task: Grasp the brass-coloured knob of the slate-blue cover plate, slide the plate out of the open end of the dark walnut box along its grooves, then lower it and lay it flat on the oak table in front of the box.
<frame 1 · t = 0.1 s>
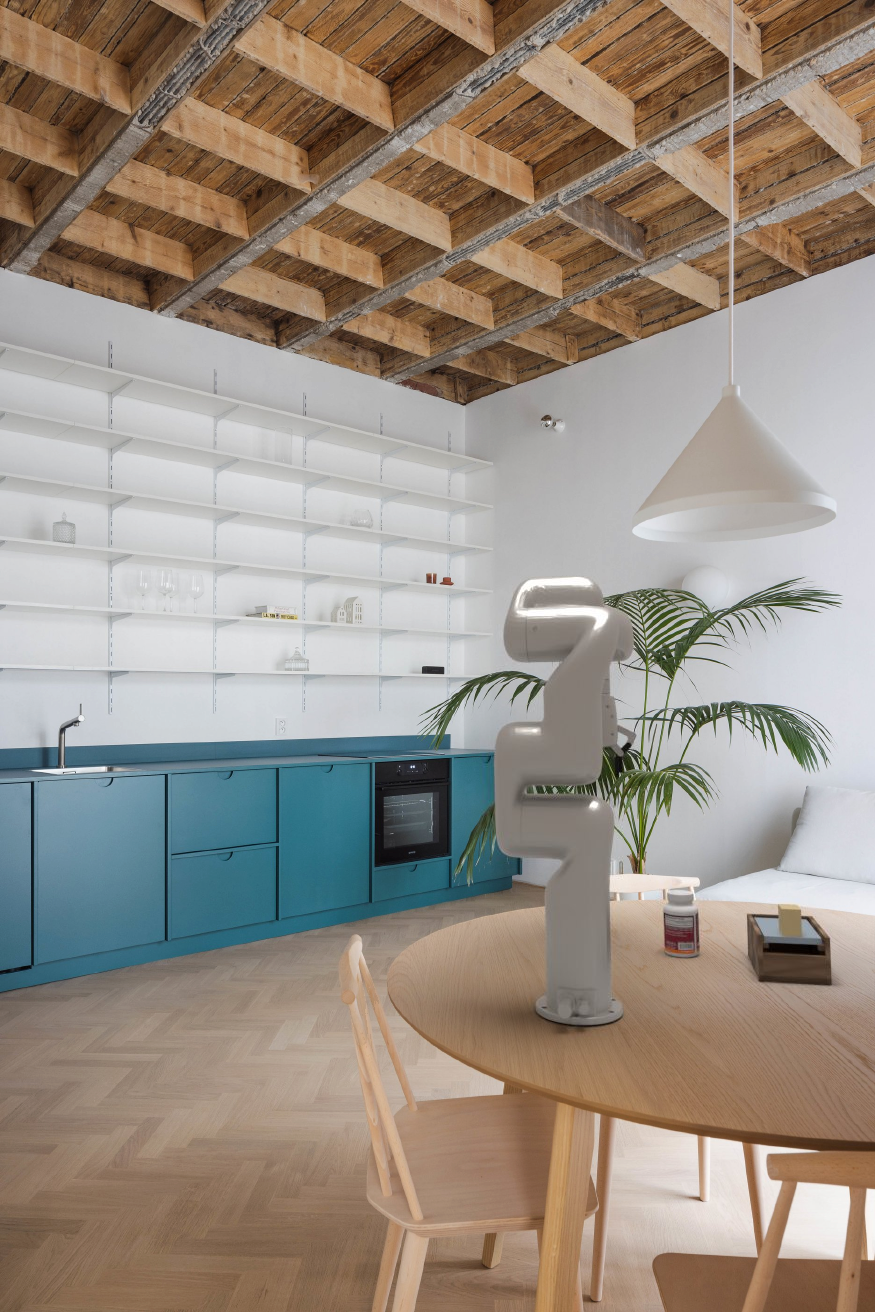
hand: (592, 776, 178), 31 cm above the table, fingers open, 9 cm apart
cover plate: (786, 933, 154), point 6 cm above the table, touching walnut box
pill bottle: (682, 955, 164), on the table
walnut box: (787, 969, 153), on the table
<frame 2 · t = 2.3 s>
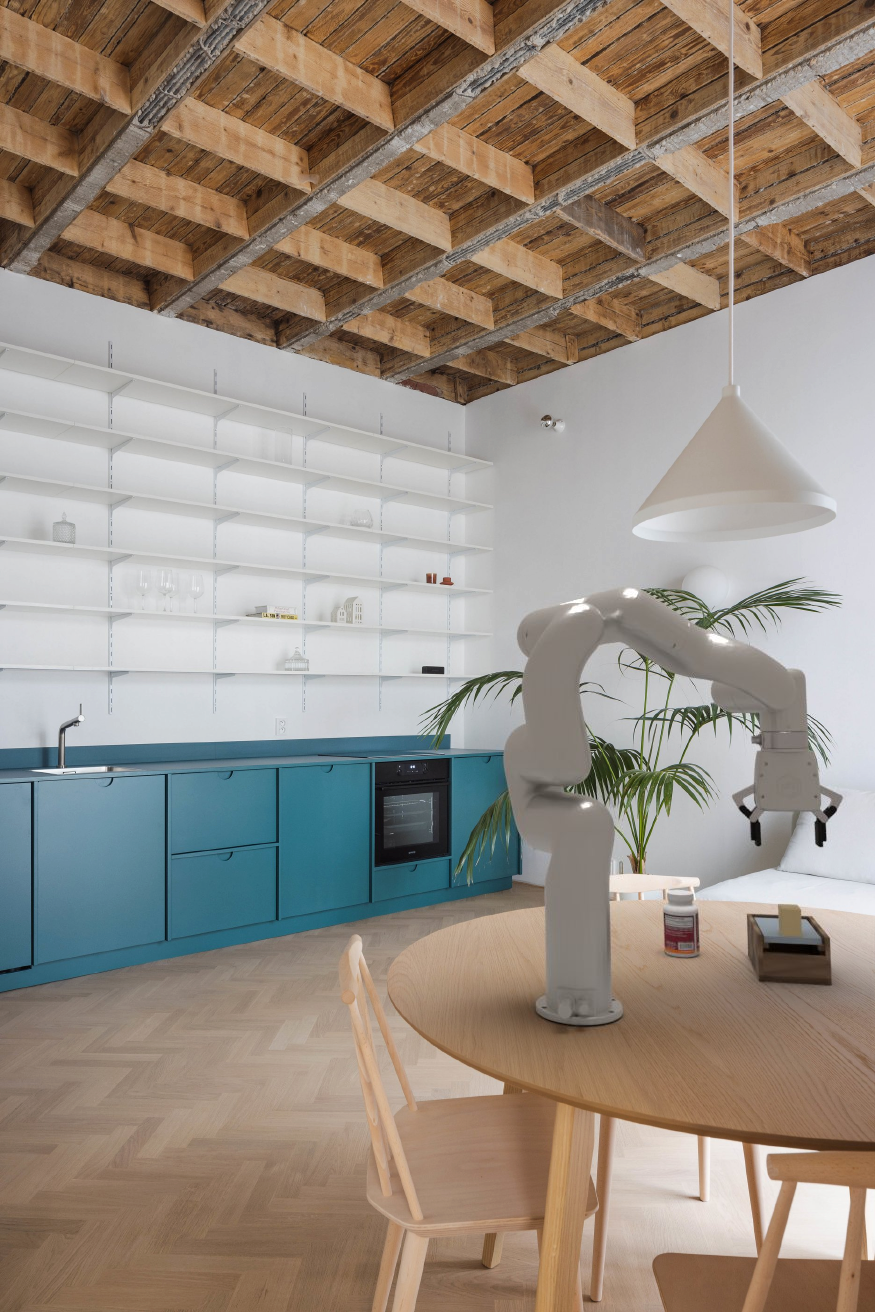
hand: (788, 845, 150), 21 cm above the table, fingers open, 9 cm apart
nothing on the table moved.
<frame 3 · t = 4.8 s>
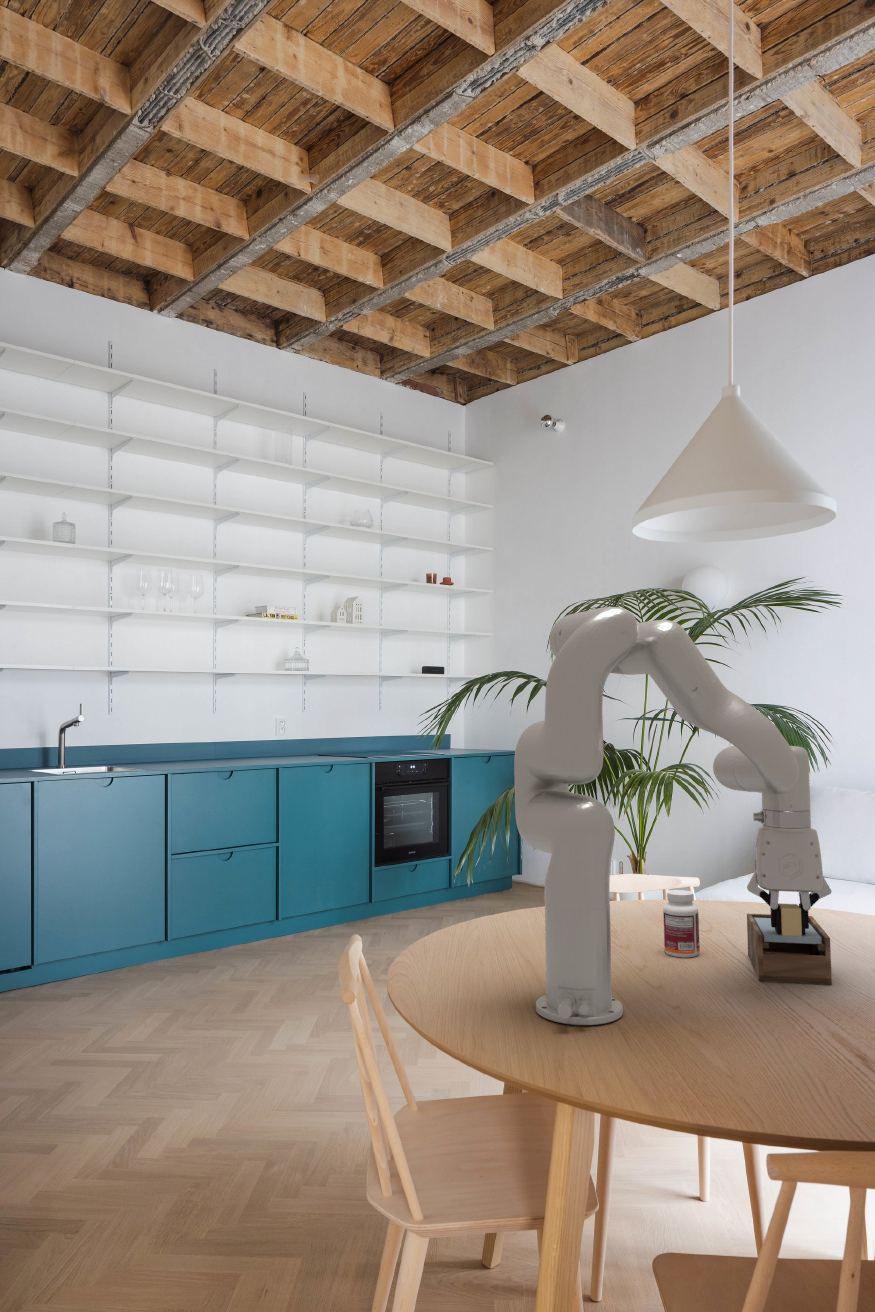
hand: (789, 931, 149), 7 cm above the table, fingers closed on cover plate, 3 cm apart
cover plate: (786, 933, 154), point 6 cm above the table, touching gripper, walnut box
everything else where it was.
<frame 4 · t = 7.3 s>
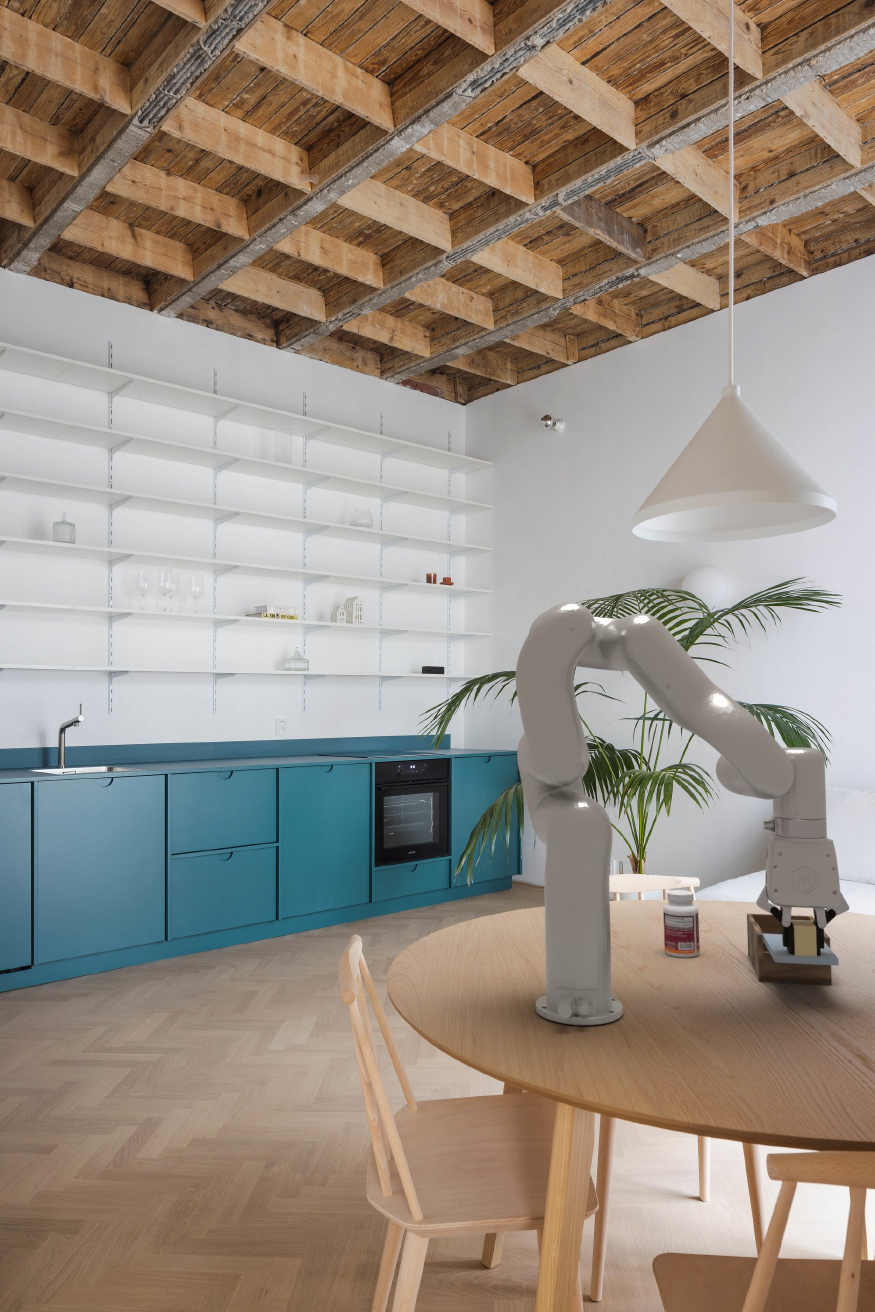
hand: (803, 951, 136), 8 cm above the table, fingers closed on cover plate, 3 cm apart
cover plate: (798, 952, 140), point 6 cm above the table, touching gripper
everything else where it was.
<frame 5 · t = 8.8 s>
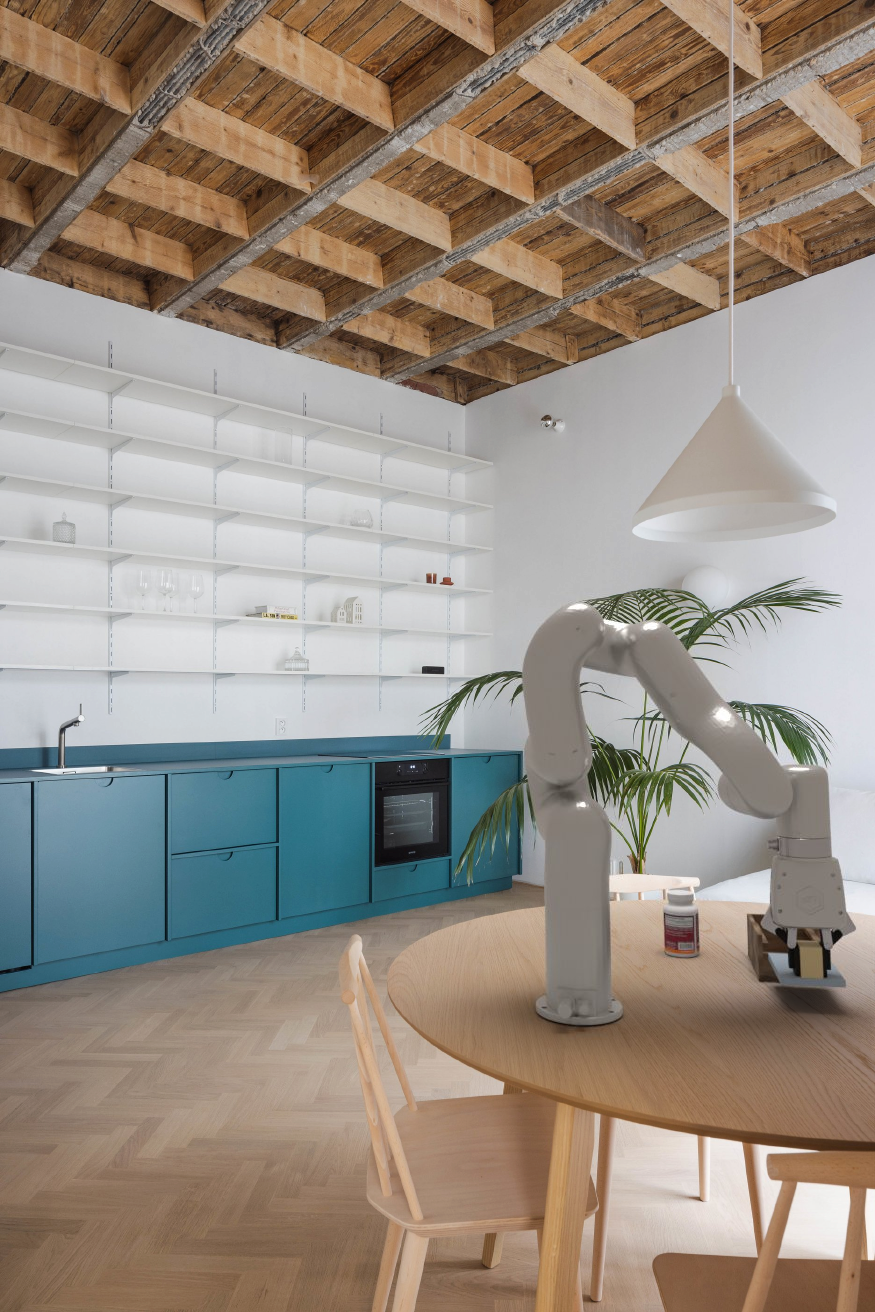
hand: (809, 973, 133), 5 cm above the table, fingers closed on cover plate, 3 cm apart
cover plate: (804, 972, 138), point 4 cm above the table, touching gripper
everything else where it was.
when the fingers open (3 cm above the table, at t = 9.9 s): cover plate drops 2 cm, on the table.
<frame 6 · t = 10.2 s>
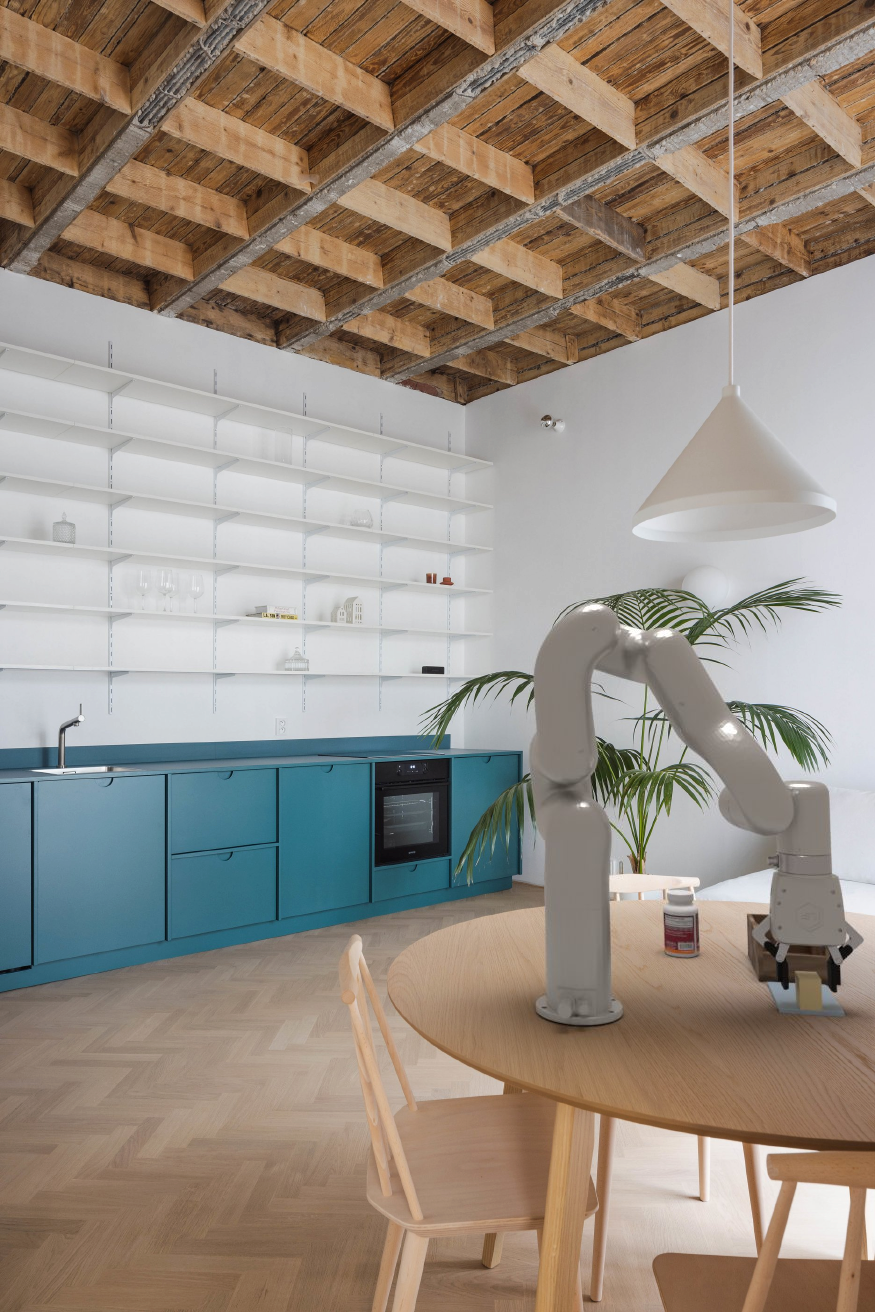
hand: (808, 987, 133), 3 cm above the table, fingers open, 6 cm apart
cover plate: (803, 1003, 137), on the table
everything else where it was.
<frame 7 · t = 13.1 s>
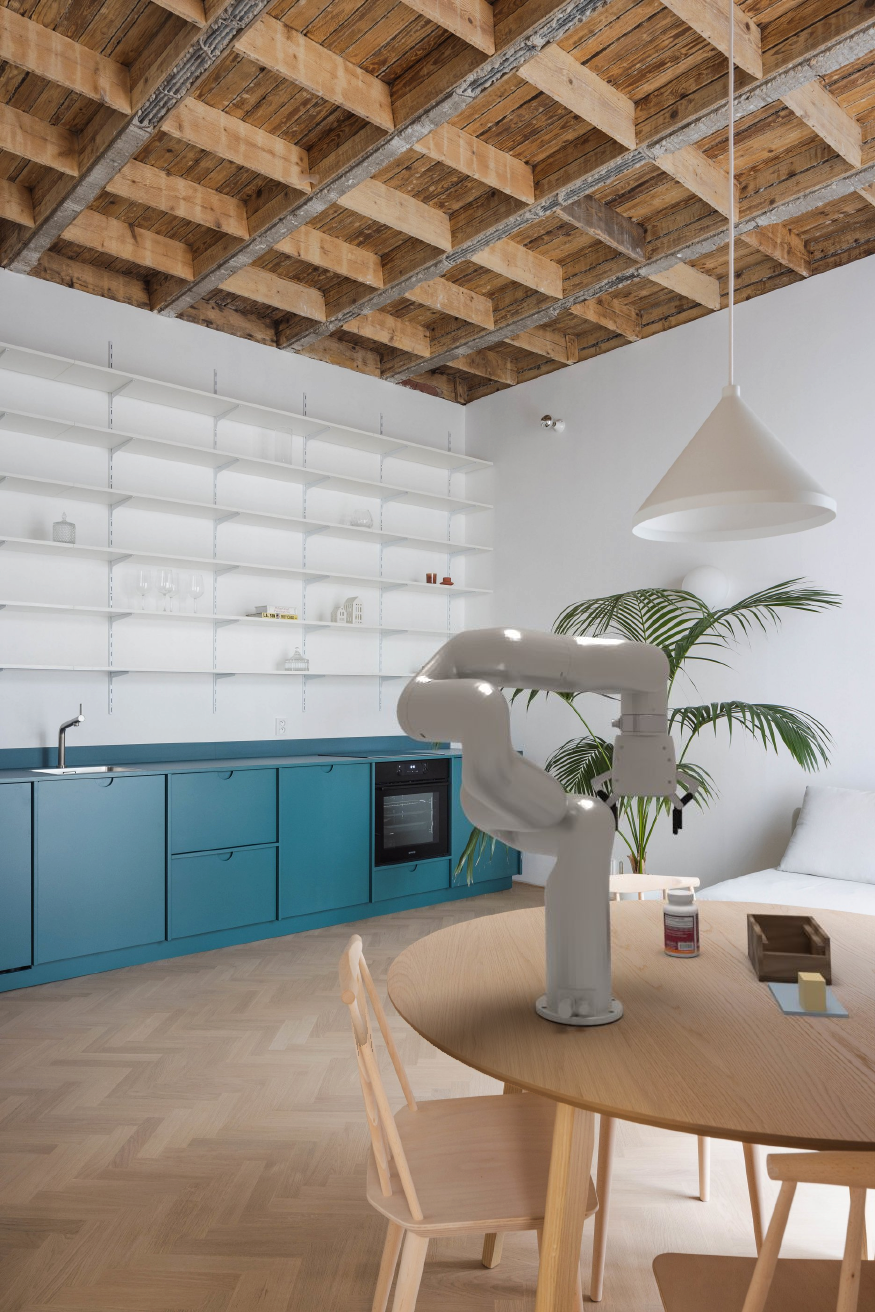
hand: (644, 832, 146), 24 cm above the table, fingers open, 9 cm apart
nothing on the table moved.
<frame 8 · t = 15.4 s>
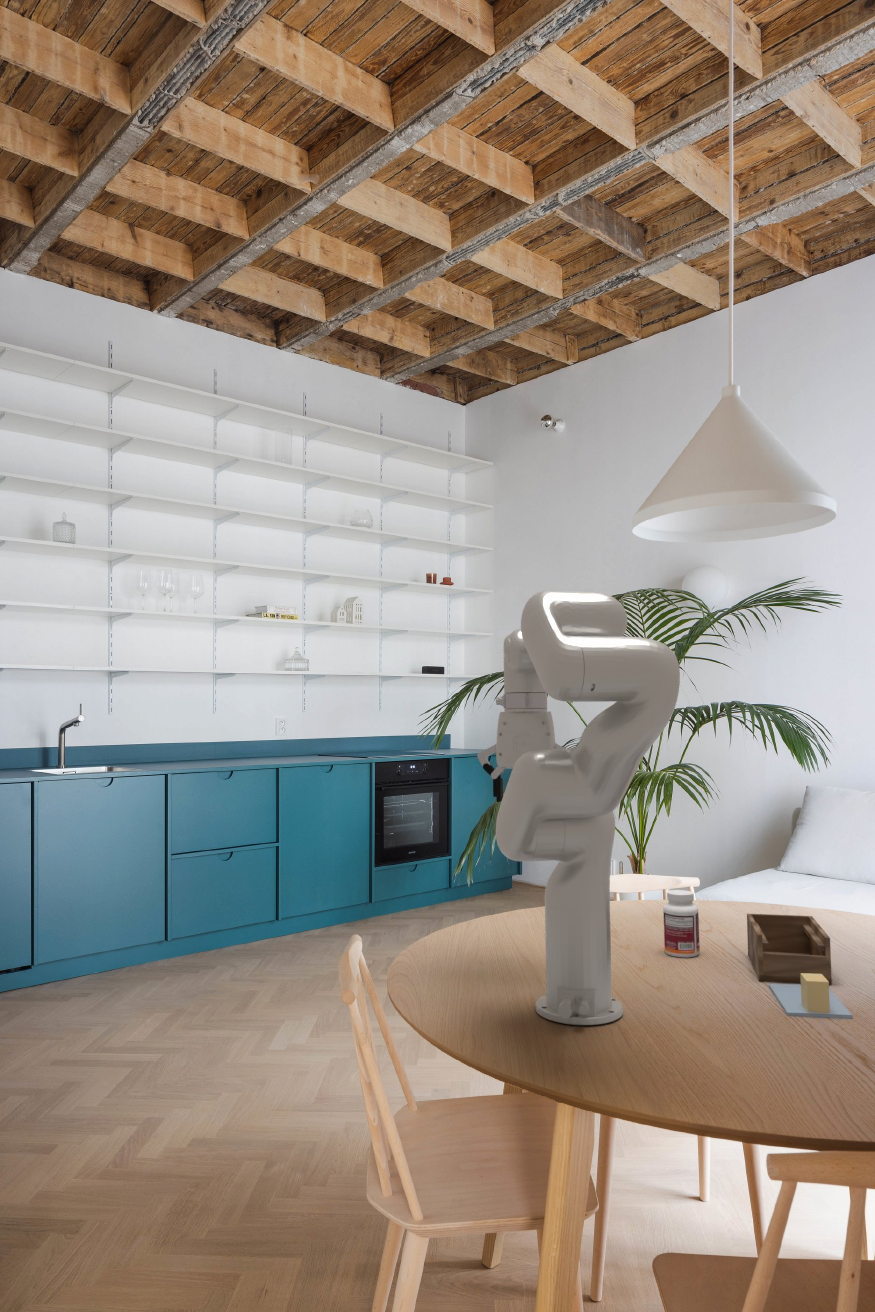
hand: (527, 801, 158), 28 cm above the table, fingers open, 9 cm apart
at the end: cover plate inside the target area (0.5 cm from its centre), on the table; cover plate tilted 0°; the gripper is holding nothing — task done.
